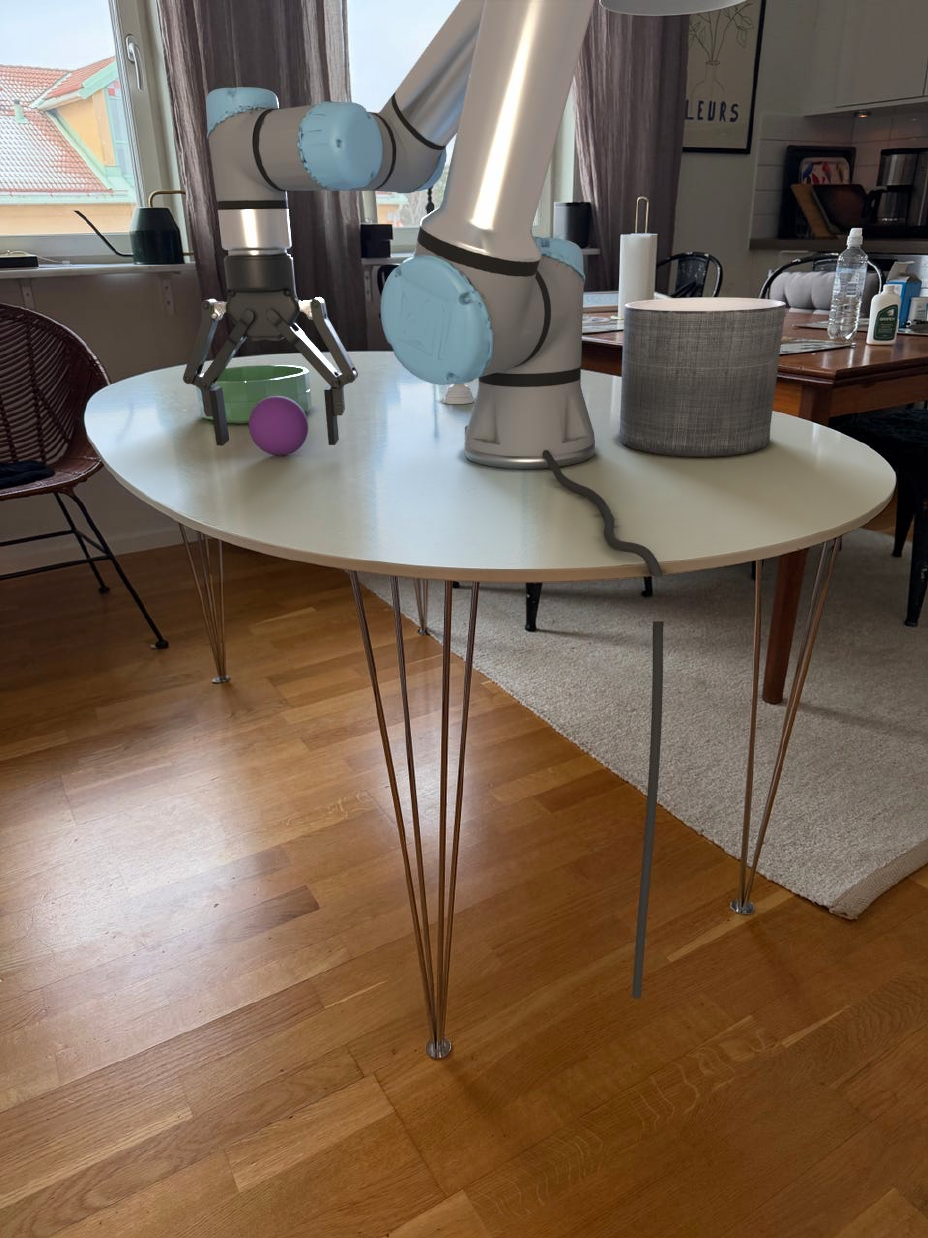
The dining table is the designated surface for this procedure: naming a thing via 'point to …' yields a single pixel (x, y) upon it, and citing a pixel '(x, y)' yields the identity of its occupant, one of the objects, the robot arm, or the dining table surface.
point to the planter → (699, 375)
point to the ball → (278, 425)
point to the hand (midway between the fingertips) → (278, 443)
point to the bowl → (259, 388)
